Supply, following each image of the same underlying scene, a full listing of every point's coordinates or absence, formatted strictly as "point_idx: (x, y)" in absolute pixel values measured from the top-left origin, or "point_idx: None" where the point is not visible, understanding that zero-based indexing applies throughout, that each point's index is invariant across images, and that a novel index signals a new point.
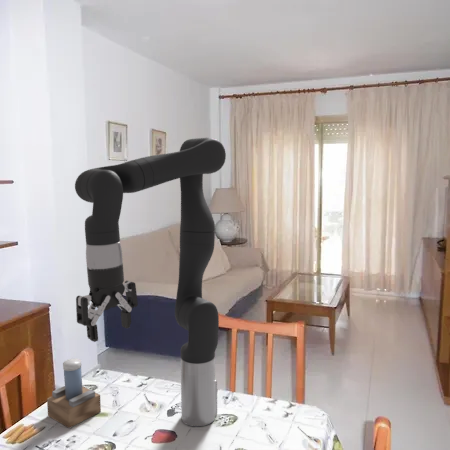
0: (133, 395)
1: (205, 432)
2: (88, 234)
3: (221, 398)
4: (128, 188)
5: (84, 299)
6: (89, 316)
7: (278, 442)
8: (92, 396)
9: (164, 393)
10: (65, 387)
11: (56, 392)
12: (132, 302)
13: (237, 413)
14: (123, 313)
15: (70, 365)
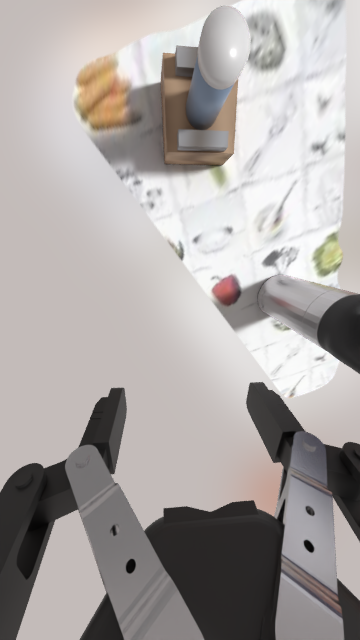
0: (284, 168)
1: (255, 320)
2: None
3: None
4: None
5: None
6: (86, 490)
7: (274, 377)
8: (219, 150)
9: (308, 209)
10: (190, 86)
11: (180, 62)
12: (343, 504)
13: None
14: (275, 441)
15: (210, 64)
